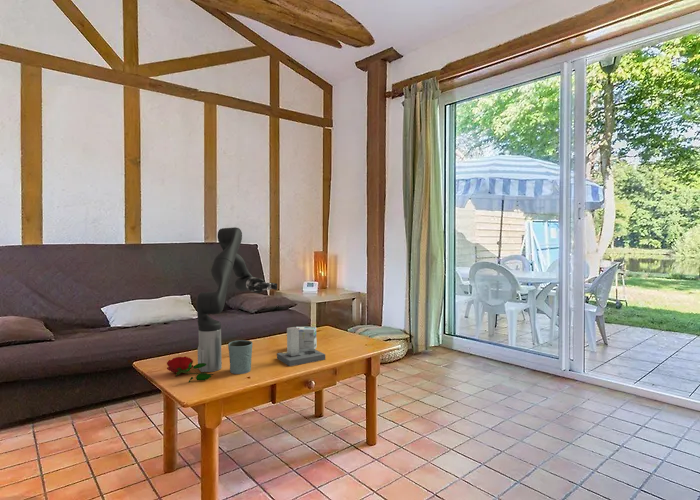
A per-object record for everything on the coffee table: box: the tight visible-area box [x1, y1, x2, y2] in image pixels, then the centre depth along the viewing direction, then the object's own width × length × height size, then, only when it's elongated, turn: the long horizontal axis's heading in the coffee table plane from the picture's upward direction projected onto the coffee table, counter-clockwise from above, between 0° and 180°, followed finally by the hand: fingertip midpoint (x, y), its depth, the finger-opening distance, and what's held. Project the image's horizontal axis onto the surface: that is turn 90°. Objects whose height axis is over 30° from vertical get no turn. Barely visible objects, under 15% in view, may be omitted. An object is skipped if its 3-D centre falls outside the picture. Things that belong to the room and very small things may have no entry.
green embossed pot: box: [227, 339, 253, 375], centre depth 181 cm, size 10×10×12 cm
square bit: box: [286, 326, 299, 358], centre depth 196 cm, size 4×4×15 cm
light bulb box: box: [295, 326, 318, 350], centre depth 216 cm, size 11×7×11 cm, turn 84°
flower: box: [166, 356, 214, 383], centre depth 172 cm, size 9×10×30 cm
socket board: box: [276, 348, 326, 367], centre depth 198 cm, size 18×14×3 cm
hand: (267, 288), depth 206 cm, fingers open, 8 cm apart
